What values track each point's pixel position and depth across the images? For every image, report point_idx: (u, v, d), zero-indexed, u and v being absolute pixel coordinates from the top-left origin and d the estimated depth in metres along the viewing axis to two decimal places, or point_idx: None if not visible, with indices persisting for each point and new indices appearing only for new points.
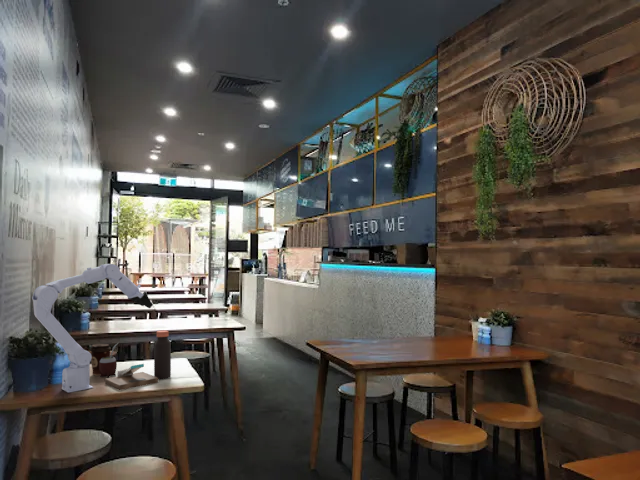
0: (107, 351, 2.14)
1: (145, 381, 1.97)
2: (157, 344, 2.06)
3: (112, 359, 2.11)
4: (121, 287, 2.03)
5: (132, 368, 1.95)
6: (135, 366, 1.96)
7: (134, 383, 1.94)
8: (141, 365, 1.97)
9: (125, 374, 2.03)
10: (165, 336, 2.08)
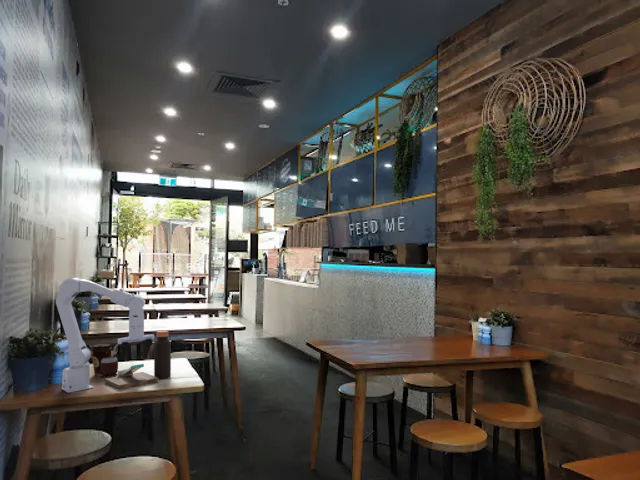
0: (108, 351, 2.14)
1: (145, 381, 1.97)
2: (157, 344, 2.06)
3: (113, 359, 2.11)
4: (130, 323, 1.96)
5: (132, 368, 1.95)
6: (135, 366, 1.96)
7: (134, 383, 1.94)
8: (141, 365, 1.97)
9: (125, 374, 2.03)
10: (165, 336, 2.08)
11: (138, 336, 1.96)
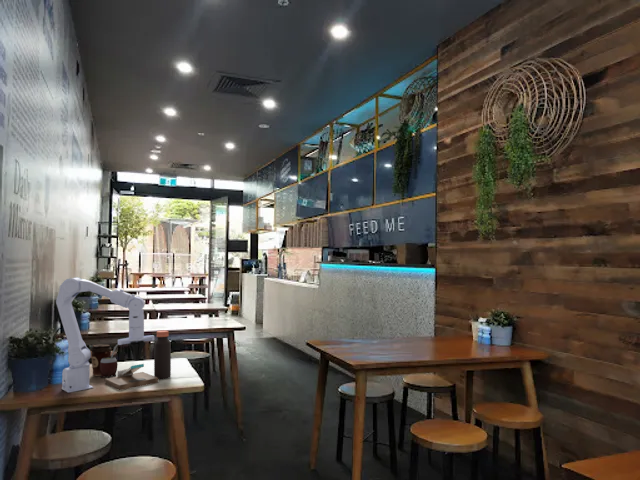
0: (108, 351, 2.14)
1: (145, 381, 1.97)
2: (157, 344, 2.06)
3: (113, 359, 2.11)
4: (130, 324, 1.96)
5: (132, 368, 1.95)
6: (135, 366, 1.96)
7: (134, 383, 1.94)
8: (141, 365, 1.97)
9: (125, 374, 2.03)
10: (165, 336, 2.08)
11: (138, 337, 1.96)
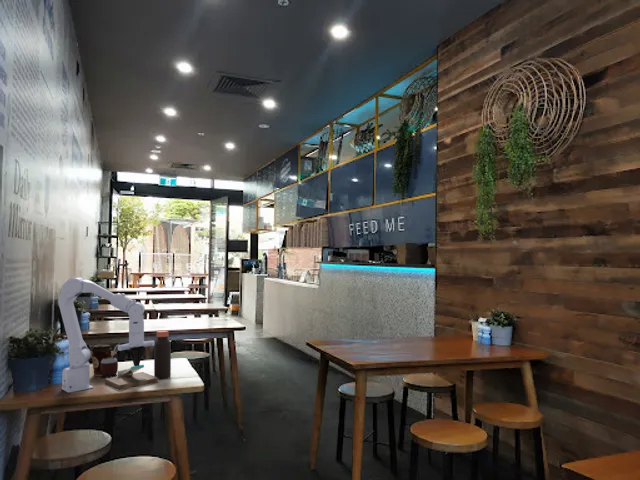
0: (108, 351, 2.14)
1: (145, 381, 1.97)
2: (157, 344, 2.06)
3: (113, 360, 2.10)
4: (130, 330, 1.96)
5: (132, 369, 1.95)
6: (135, 367, 1.96)
7: (134, 383, 1.94)
8: (141, 366, 1.97)
9: (125, 374, 2.03)
10: (165, 336, 2.08)
11: (138, 343, 1.96)
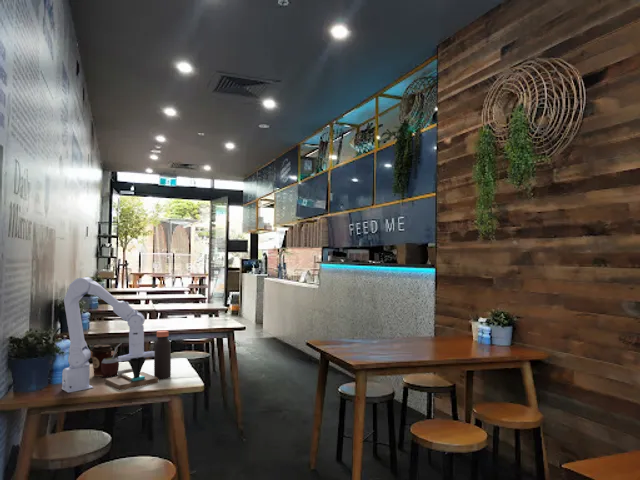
0: (109, 352, 2.13)
1: (145, 381, 1.97)
2: (157, 344, 2.06)
3: (114, 360, 2.10)
4: (130, 341, 1.96)
5: (133, 380, 1.94)
6: (136, 379, 1.95)
7: (134, 383, 1.94)
8: (142, 378, 1.97)
9: None
10: (165, 336, 2.08)
11: (138, 353, 1.96)
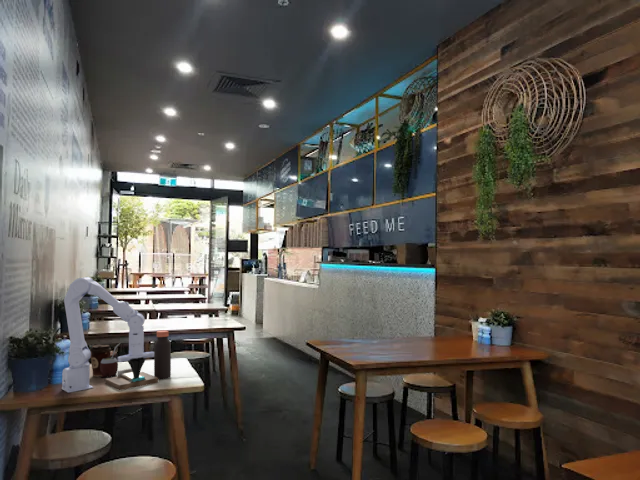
0: (108, 352, 2.13)
1: (145, 381, 1.97)
2: (157, 344, 2.06)
3: (114, 360, 2.10)
4: (130, 341, 1.96)
5: (133, 381, 1.94)
6: (136, 379, 1.95)
7: (134, 383, 1.94)
8: (142, 378, 1.97)
9: None
10: (165, 336, 2.08)
11: (138, 354, 1.96)
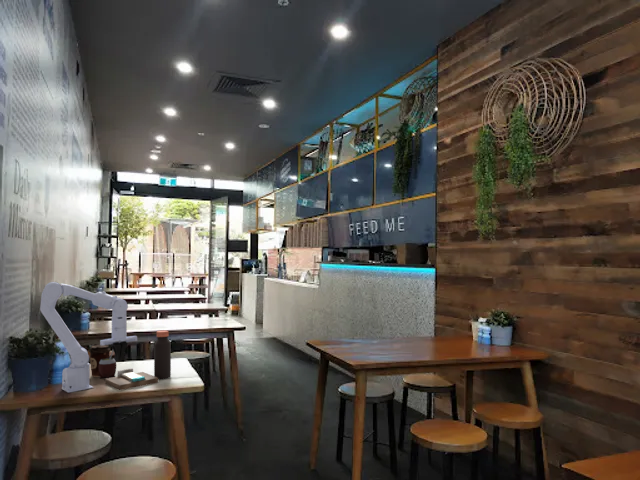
0: (106, 352, 2.12)
1: (145, 381, 1.97)
2: (157, 344, 2.06)
3: (112, 360, 2.09)
4: (114, 325, 1.98)
5: (133, 381, 1.94)
6: (136, 379, 1.95)
7: (134, 383, 1.94)
8: (142, 378, 1.97)
9: None
10: (165, 336, 2.08)
11: (120, 338, 1.98)
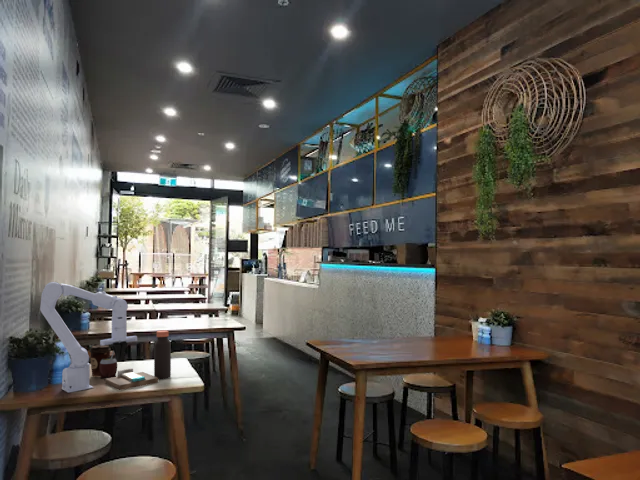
0: (107, 352, 2.12)
1: (145, 381, 1.97)
2: (157, 344, 2.06)
3: (113, 360, 2.09)
4: (114, 325, 1.98)
5: (133, 381, 1.94)
6: (136, 379, 1.95)
7: (134, 383, 1.94)
8: (142, 378, 1.97)
9: None
10: (165, 336, 2.08)
11: (120, 338, 1.98)
